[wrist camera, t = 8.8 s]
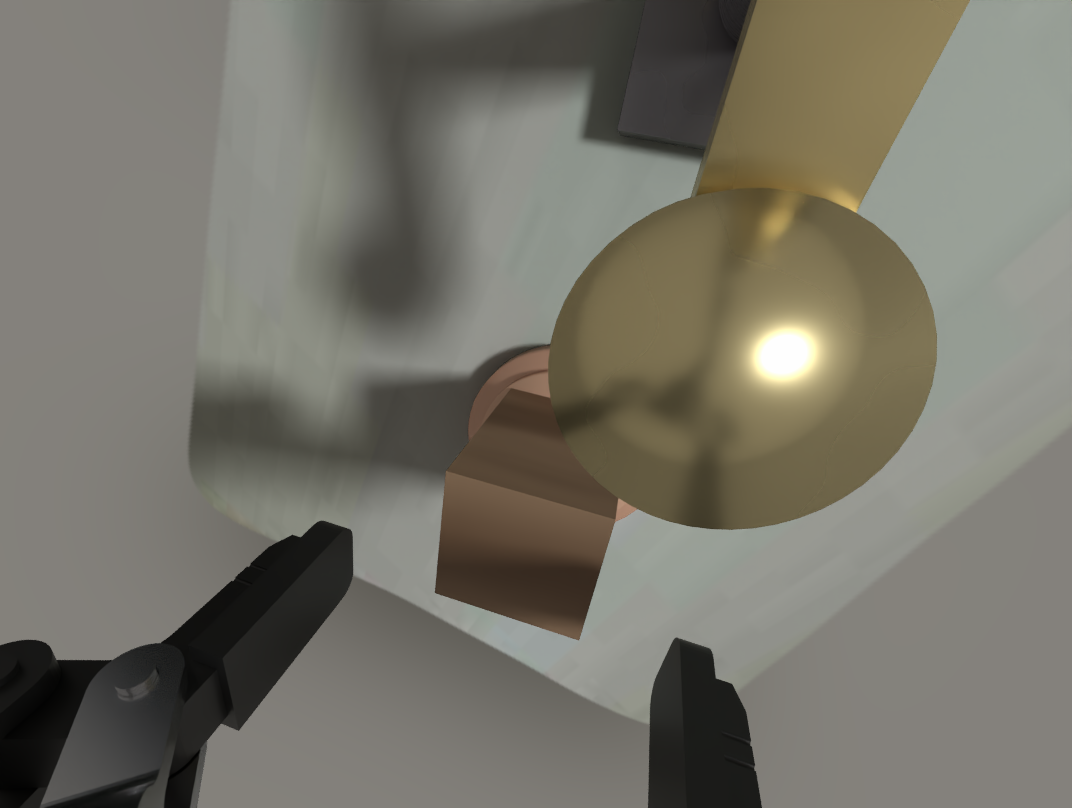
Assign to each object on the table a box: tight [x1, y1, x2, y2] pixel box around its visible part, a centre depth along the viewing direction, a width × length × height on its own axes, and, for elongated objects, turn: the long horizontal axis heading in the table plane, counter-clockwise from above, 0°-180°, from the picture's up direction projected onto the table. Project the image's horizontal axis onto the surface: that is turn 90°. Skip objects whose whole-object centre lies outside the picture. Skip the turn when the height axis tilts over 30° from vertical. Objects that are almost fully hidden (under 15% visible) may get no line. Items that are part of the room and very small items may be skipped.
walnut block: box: [435, 388, 618, 640], centre depth 15 cm, size 4×4×6 cm
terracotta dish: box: [468, 345, 637, 522], centre depth 19 cm, size 8×8×1 cm
